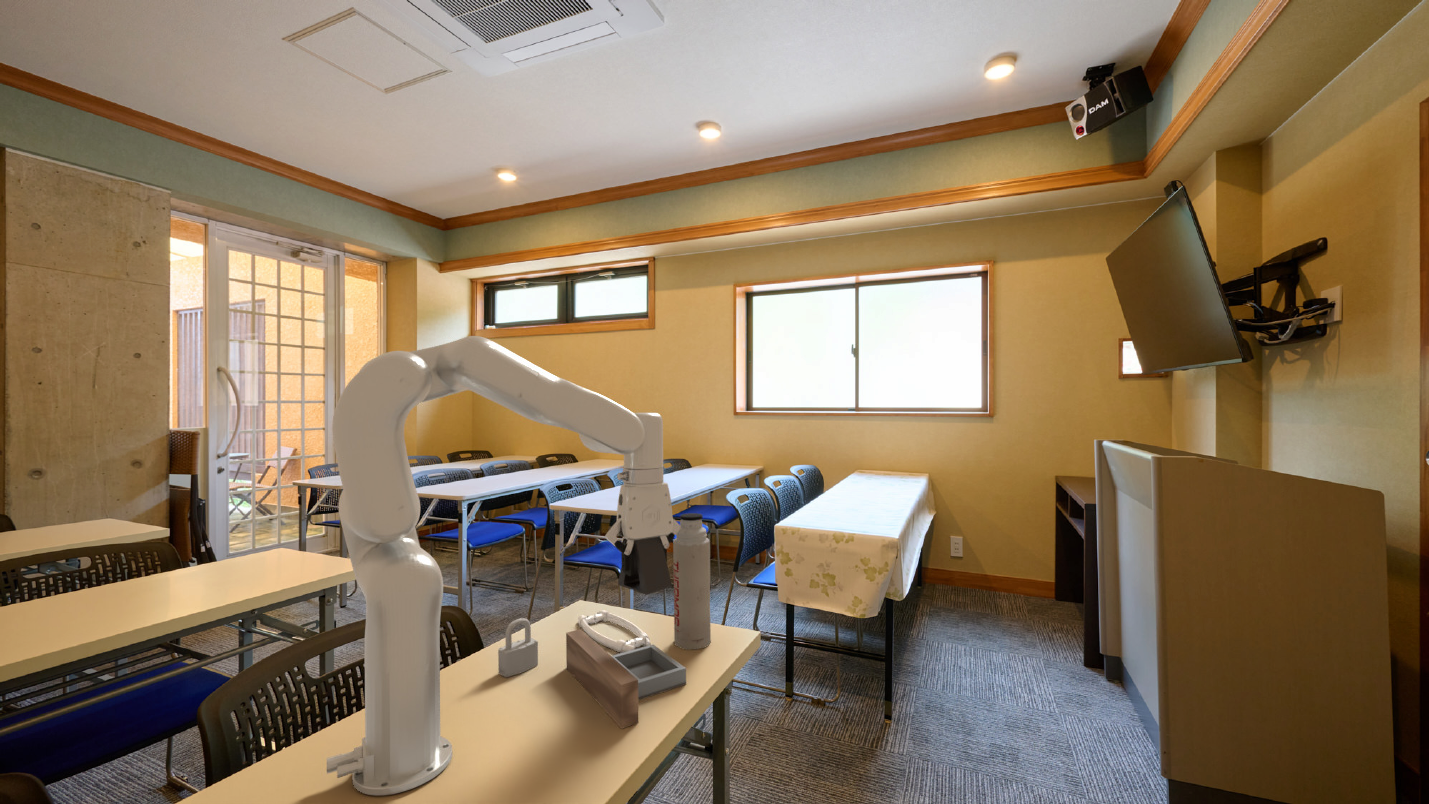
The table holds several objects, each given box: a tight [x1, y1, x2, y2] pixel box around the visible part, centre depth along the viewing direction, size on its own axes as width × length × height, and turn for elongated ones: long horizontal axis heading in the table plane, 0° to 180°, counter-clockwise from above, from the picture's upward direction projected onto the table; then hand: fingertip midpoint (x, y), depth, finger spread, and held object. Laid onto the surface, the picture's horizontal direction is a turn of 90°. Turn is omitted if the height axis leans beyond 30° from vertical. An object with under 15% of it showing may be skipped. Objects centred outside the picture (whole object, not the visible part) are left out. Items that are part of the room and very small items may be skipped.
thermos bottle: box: [672, 512, 712, 650], centre depth 125 cm, size 8×8×28 cm
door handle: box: [578, 609, 652, 654], centre depth 129 cm, size 3×10×25 cm
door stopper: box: [617, 537, 673, 596], centre depth 108 cm, size 9×6×12 cm, turn 45°
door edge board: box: [565, 628, 639, 729], centre depth 103 cm, size 3×26×7 cm, turn 34°
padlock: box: [497, 617, 539, 678], centre depth 112 cm, size 7×4×10 cm, turn 140°
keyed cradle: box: [611, 644, 687, 701], centre depth 108 cm, size 10×13×3 cm
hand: (644, 570), depth 108 cm, fingers closed on door stopper, 6 cm apart
